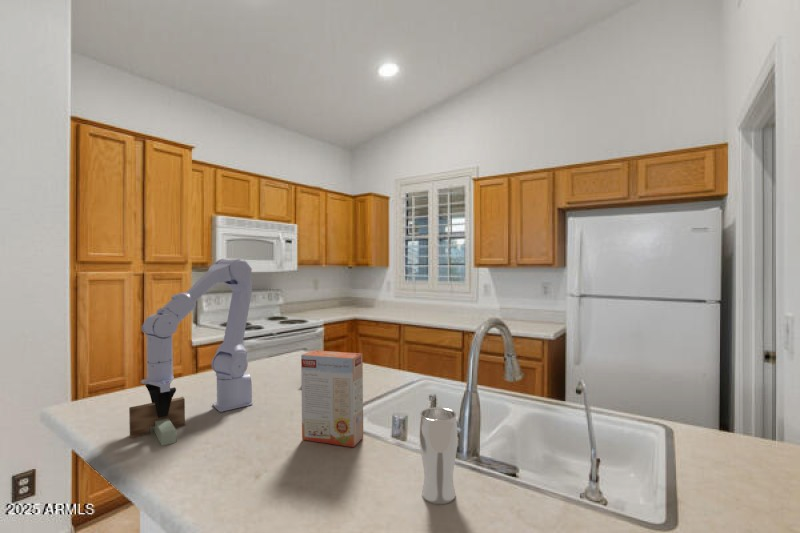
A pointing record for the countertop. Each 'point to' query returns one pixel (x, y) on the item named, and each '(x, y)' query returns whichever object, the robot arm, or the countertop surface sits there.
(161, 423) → the slotted rail
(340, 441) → the cracker box
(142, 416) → the walnut plate
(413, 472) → the countertop surface
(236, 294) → the robot arm
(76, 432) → the countertop surface
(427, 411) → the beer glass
